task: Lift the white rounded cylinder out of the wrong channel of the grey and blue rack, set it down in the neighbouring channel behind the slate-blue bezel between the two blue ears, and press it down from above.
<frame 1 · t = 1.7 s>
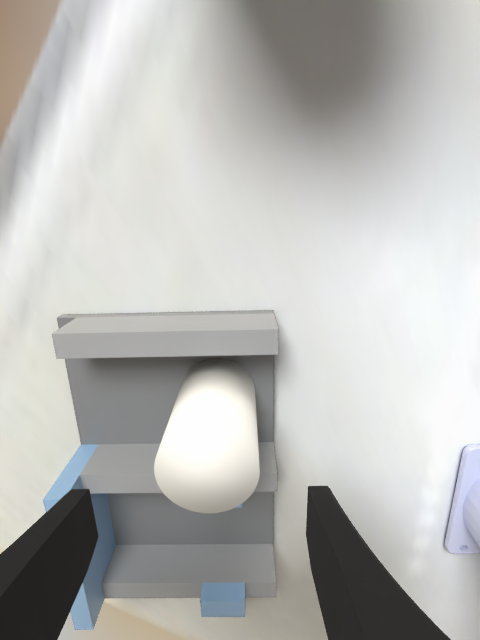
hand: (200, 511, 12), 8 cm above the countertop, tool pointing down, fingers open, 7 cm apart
white rounded cylinder: (218, 392, 19), point 1 cm above the countertop, touching grey and blue rack
grey and blue rack: (187, 445, 21), on the countertop
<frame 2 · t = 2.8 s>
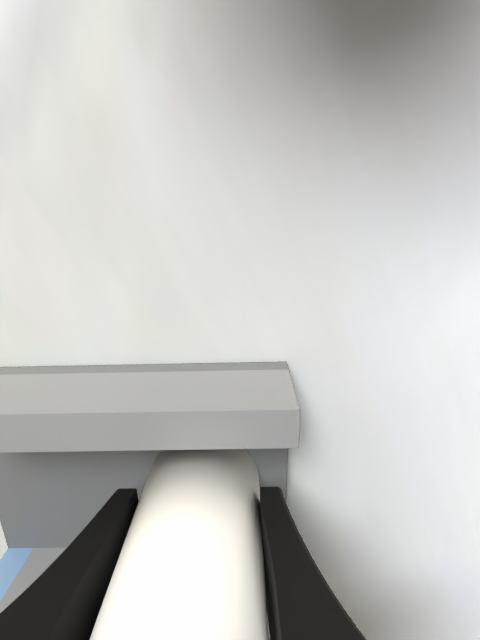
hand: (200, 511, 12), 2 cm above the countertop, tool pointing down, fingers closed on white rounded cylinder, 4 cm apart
white rounded cylinder: (204, 480, 13), point 1 cm above the countertop, touching grey and blue rack, gripper
grey and blue rack: (163, 544, 15), on the countertop
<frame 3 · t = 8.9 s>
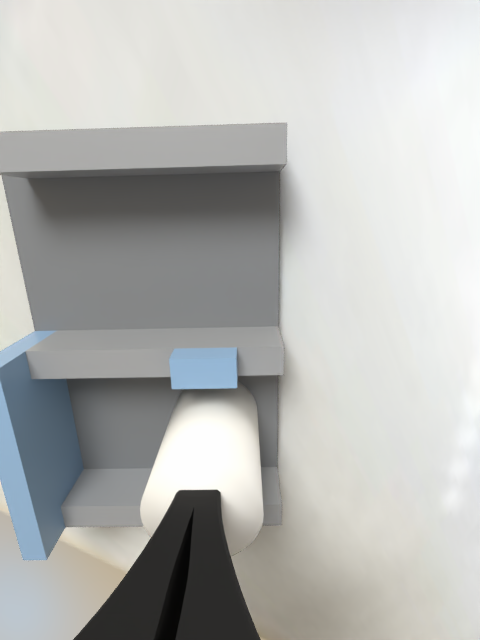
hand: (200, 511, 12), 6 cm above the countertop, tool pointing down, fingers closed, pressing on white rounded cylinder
white rounded cylinder: (216, 412, 17), point 1 cm above the countertop, touching grey and blue rack, gripper
grey and blue rack: (170, 336, 17), on the countertop
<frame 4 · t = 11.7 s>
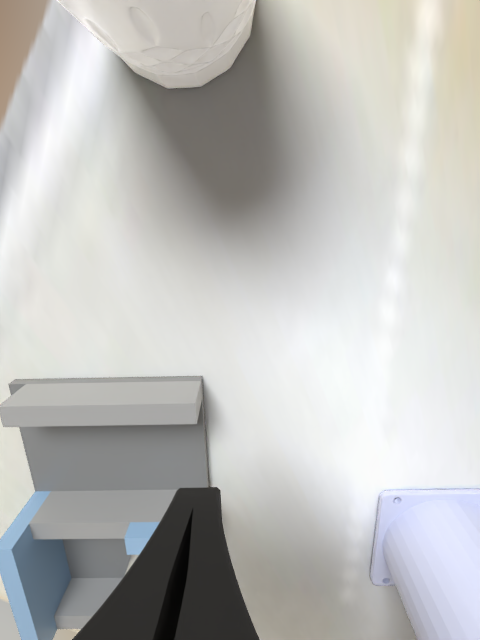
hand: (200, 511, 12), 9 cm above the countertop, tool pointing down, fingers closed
grey and blue rack: (133, 490, 23), on the countertop
white cup: (178, 3, 15), on the countertop
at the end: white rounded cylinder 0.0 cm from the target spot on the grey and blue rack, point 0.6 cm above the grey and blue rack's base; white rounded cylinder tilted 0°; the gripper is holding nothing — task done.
